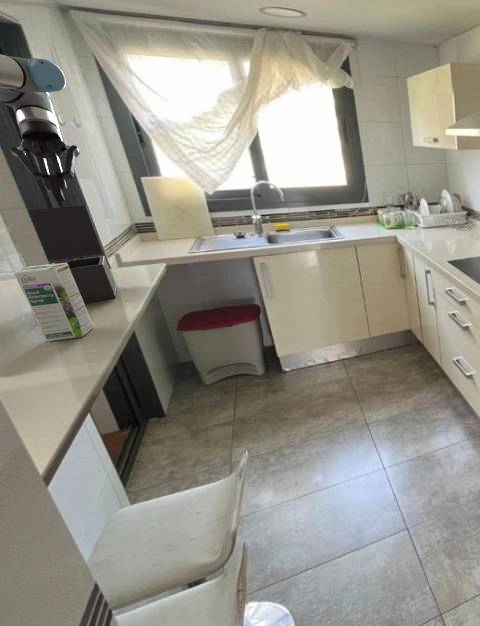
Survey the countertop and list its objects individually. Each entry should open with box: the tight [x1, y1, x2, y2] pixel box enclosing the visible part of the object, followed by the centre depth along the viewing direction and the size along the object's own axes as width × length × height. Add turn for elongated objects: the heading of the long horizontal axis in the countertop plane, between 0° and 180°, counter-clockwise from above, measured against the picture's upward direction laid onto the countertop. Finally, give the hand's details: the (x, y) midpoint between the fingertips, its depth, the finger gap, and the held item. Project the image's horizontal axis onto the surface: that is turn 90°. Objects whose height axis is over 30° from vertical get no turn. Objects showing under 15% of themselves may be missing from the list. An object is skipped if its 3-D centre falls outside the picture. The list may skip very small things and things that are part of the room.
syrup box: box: [14, 263, 94, 343], centre depth 91 cm, size 6×6×14 cm
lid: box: [27, 205, 105, 262], centre depth 115 cm, size 12×10×1 cm
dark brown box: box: [48, 255, 117, 304], centre depth 114 cm, size 12×10×9 cm
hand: (59, 197), depth 119 cm, fingers closed
